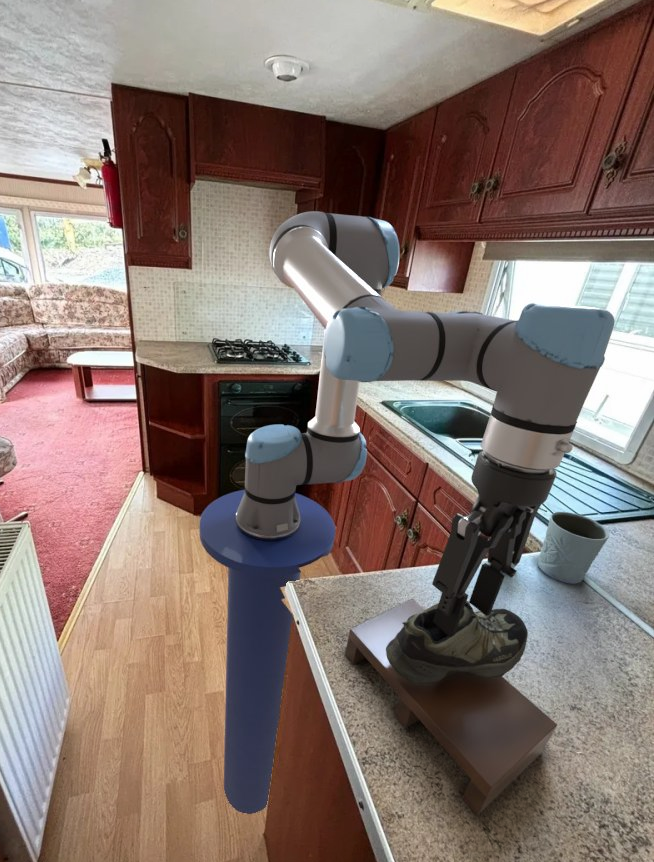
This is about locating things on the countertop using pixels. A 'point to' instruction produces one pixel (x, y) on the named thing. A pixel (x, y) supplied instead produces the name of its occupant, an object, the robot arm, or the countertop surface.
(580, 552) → the embossed plant pot
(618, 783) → the countertop surface
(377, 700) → the countertop surface
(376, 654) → the shoe shelf
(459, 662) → the hiking shoe
